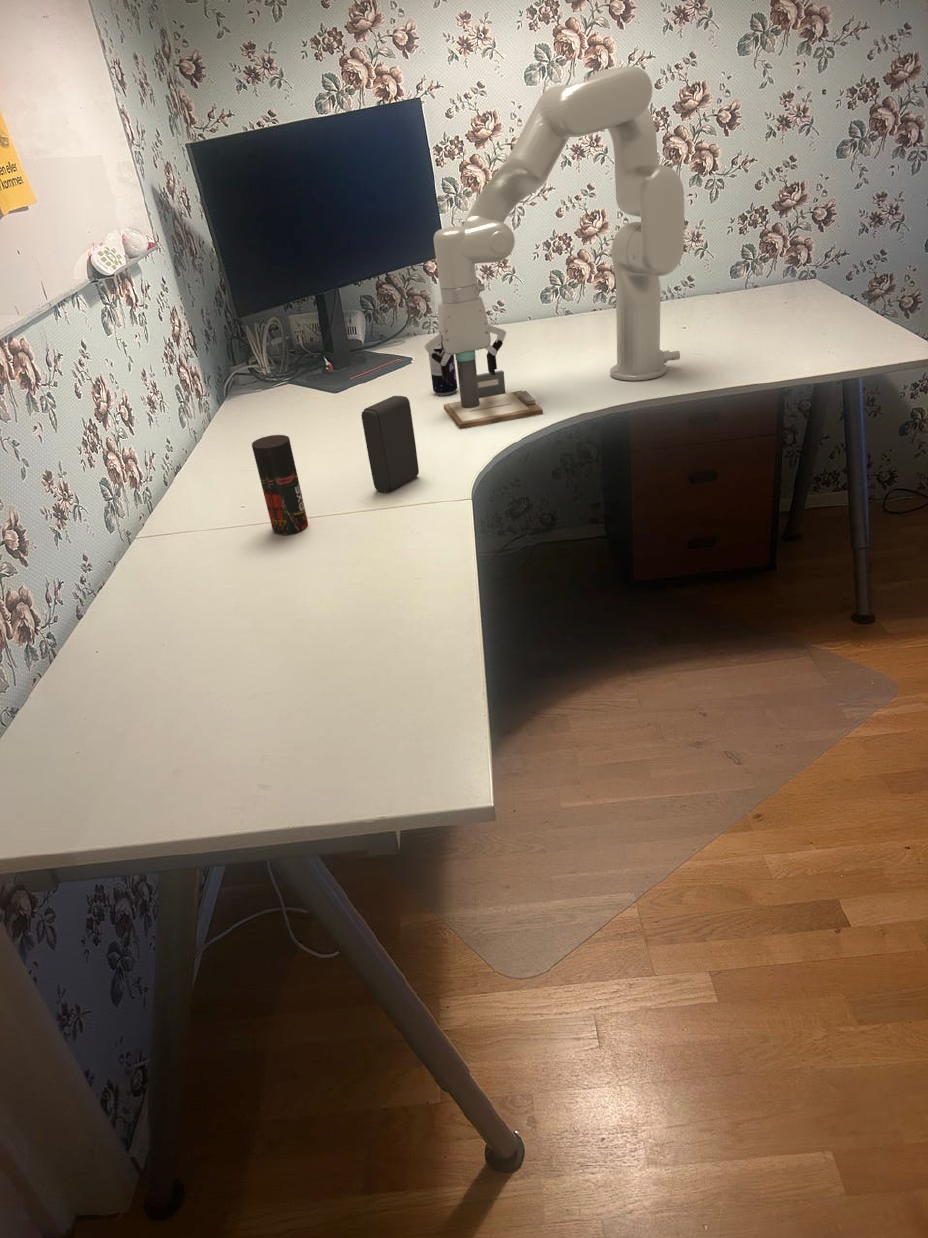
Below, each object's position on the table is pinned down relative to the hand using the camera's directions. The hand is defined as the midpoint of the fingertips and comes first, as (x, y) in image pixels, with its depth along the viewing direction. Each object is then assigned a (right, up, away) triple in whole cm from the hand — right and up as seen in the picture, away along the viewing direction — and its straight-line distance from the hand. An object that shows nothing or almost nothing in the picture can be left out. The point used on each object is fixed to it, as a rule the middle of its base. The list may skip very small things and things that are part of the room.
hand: (470, 377), depth 181 cm
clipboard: (+5, -7, +2) cm, 8 cm away
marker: (0, -5, +3) cm, 6 cm away
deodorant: (-30, -36, -39) cm, 61 cm away
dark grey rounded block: (-13, -27, -27) cm, 41 cm away
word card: (+3, -1, +11) cm, 11 cm away
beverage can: (-6, +1, +17) cm, 18 cm away
